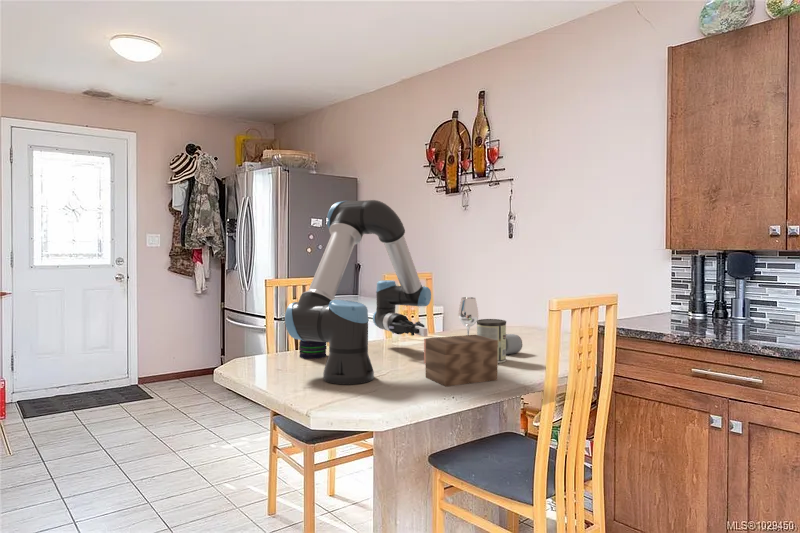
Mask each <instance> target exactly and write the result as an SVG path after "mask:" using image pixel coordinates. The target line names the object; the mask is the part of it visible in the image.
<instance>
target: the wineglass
mask: <svg viewBox="0 0 800 533" xmlns="http://www.w3.org/2000/svg"><path fill="white" fill-rule="evenodd" d="M478 308H479V307H478V304H477V299H476V297H471V296H470V297H468V296H467V297H466V296H465V297H461V298H460V304H459V308H458V314H457V316H458V321H459V322H460V324H462V325H463V326H464V327H466V335H470V328H471V327H473V326H474V325H475V324H477V320H479V309H478Z"/></svg>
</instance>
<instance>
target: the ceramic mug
mask: <svg viewBox="0 0 800 533" xmlns="http://www.w3.org/2000/svg"><path fill="white" fill-rule="evenodd" d="M522 349H523V340H522V337H520V336H519V335H518V334H515V333H506V355H513V354H518V353H520V352H521V350H522Z"/></svg>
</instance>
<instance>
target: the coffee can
mask: <svg viewBox="0 0 800 533" xmlns="http://www.w3.org/2000/svg"><path fill="white" fill-rule="evenodd" d="M506 334H507V320H505V319H498V318H497V319H496V318H484V319H483V318H481V319H478V320H477V322H476V335H479V336H483V337H487V338H491V339H494V340H498V359H497V364H503V363H505V362H507V358H506V357H507V354H506Z"/></svg>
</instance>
